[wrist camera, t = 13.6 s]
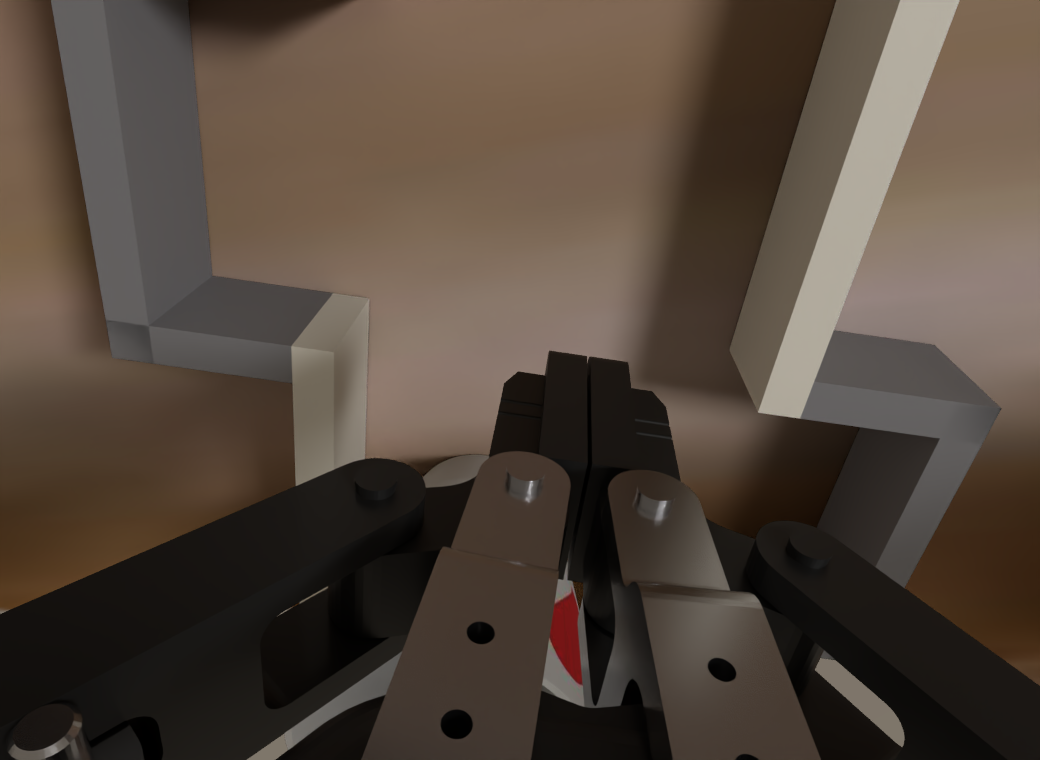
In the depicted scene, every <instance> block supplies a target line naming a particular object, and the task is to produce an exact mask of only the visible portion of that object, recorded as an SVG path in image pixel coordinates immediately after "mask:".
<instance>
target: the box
mask: <svg viewBox="0 0 1040 760" xmlns="http://www.w3.org/2000/svg"><path fill="white" fill-rule="evenodd" d="M958 3H959V0H836V3H835V6H834V9H833V13H832V16H831V19H830V22H829V26H828V29H827V32H826V35H825V39H824V42H823V45H822V48H821V52H820V55H819V58H818V61H817V65H816V68H815V71H814V75H813V78H812V81H811V84H810V88H809V91H808V94H807V97H806V101H805V104H804V107H803V110H802V114H801V117H800V120H799V124H798V127H797V130H796V133H795V137H794V140H793V143H792V146H791V150H790V153H789V156H788V159H787V163H786V166H785V169H784V173H783V176H782V179H781V182H780V186H779V189H778V192H777V195H776V199H775V202H774V205H773V208H772V212H771V215H770V218H769V221H768V225H767V228H766V231H765V235H764V238H763V241H762V244H761V248H760V251H759V254H758V257H757V261H756V264H755V267H754V270H753V274H752V277H751V280H750V284H749V287H748V290H747V293H746V297H745V300H744V303H743V306H742V310H741V313H740V316H739V319H738V323H737V326H736V329H735V333H734V336H733V339H732V342H731V346H730V349H729V351H730V353H731V355H732V357H733V359H734V362H735V364H736V366H737V368H738V370H739V372H740V375H741V377H742V379H743V381H744V383H745V385H746V388H747V390H748V392H749V394H750V396H751V399H752V401H753V403H754V405H755V407H756V409H757V412H758V413H764V414H771V415H778V416H785V417H792V418H799V419H806V420H813V421H820V422H827V423H834V424H841V425H848V426H855V427H860V428H859V431H858V433H857V435H856V438H855V440H854V442H853V445H852V447H851V449H850V452H849V454H848V456H847V458H846V461H845V463H844V465H843V468H842V470H841V472H840V475H839V477H838V479H837V482H836V484H835V486H834V488H833V491H832V493H831V495H830V498H829V500H828V502H827V505H826V507H825V509H824V512H823V514H822V516H821V518H820V521H819V523H818V525H817V528H818V529H820V530H822V531H824V532H826V533H828V534H830V535H831V536H833V537H834V538H836V539H837V540H839V541H840V542H841V543H843V544H844V545H845V546H847V547H848V548H850V549H851V550H852V551H854V552H855V553H856V554H858V555H859V556H861V557H862V558H863V559H865V560H866V561H868V562H869V563H870V564H872V565H873V566H874V567H876V568H877V569H879V570H880V571H881V572H883V573H884V574H886V575H887V576H888V577H890V578H891V579H892V580H894V581H895V582H897V583H898V584H899V585H901V586H902V587H903V588H905V586H906V584H907V582H908V580H909V578H910V577H911V575H912V573H913V571H914V569H915V567H916V565H917V564H918V562H919V560H920V558H921V556H922V554H923V553H924V551H925V549H926V547H927V545H928V543H929V541H930V540H931V538H932V536H933V534H934V532H935V530H936V529H937V527H938V525H939V523H940V521H941V519H942V517H943V516H944V514H945V512H946V510H947V508H948V506H949V504H950V503H951V501H952V499H953V497H954V495H955V493H956V492H957V490H958V488H959V486H960V484H961V482H962V480H963V479H964V477H965V475H966V473H967V471H968V469H969V468H970V466H971V464H972V462H973V460H974V458H975V456H976V455H977V453H978V451H979V449H980V447H981V445H982V444H983V442H984V440H985V438H986V436H987V434H988V432H989V431H990V429H991V427H992V425H993V423H994V421H995V419H996V418H997V416H998V414H999V412H1000V410H1001V407H999V406H998V405H997V404H996V403H995V402H994V401H993V400H992V399H991V398H990V397H989V396H988V395H987V394H986V393H985V392H984V391H983V390H982V389H980V388H979V387H978V386H977V385H976V384H975V383H974V382H973V381H972V380H971V379H970V378H969V377H968V376H967V375H966V374H965V373H964V372H962V371H961V370H960V369H959V368H958V367H957V366H956V365H955V364H954V363H953V362H952V361H951V360H950V359H949V358H948V357H947V356H946V355H945V354H943V353H942V352H941V351H940V350H939V349H938V348H937V347H936V346H935V345H931V344H924V343H917V342H910V341H903V340H896V339H890V338H883V337H876V336H869V335H862V334H855V333H848V332H841V331H834V328H835V326H836V323H837V320H838V318H839V315H840V313H841V310H842V307H843V305H844V302H845V299H846V297H847V294H848V292H849V289H850V286H851V284H852V281H853V278H854V276H855V273H856V271H857V268H858V265H859V263H860V260H861V258H862V255H863V252H864V250H865V247H866V244H867V242H868V239H869V237H870V234H871V231H872V229H873V226H874V223H875V221H876V218H877V216H878V213H879V210H880V208H881V205H882V202H883V200H884V197H885V195H886V192H887V189H888V187H889V184H890V181H891V179H892V176H893V174H894V171H895V168H896V166H897V163H898V160H899V158H900V155H901V153H902V150H903V147H904V145H905V142H906V139H907V137H908V134H909V132H910V129H911V126H912V124H913V121H914V119H915V116H916V113H917V111H918V108H919V105H920V103H921V100H922V98H923V95H924V92H925V90H926V87H927V84H928V82H929V79H930V77H931V74H932V71H933V69H934V66H935V63H936V61H937V58H938V56H939V53H940V50H941V48H942V45H943V42H944V40H945V37H946V35H947V32H948V29H949V27H950V24H951V21H952V19H953V16H954V14H955V11H956V8H957V6H958ZM51 4H52V10H53V16H54V22H55V28H56V33H57V39H58V45H59V51H60V57H61V62H62V68H63V74H64V80H65V86H66V92H67V97H68V103H69V109H70V115H71V121H72V127H73V132H74V138H75V144H76V150H77V156H78V162H79V167H80V173H81V179H82V185H83V191H84V196H85V202H86V208H87V214H88V220H89V226H90V231H91V237H92V243H93V249H94V255H95V261H96V266H97V272H98V278H99V284H100V290H101V296H102V301H103V307H104V313H105V319H106V325H107V330H108V336H109V342H110V348H111V354H112V358H117V359H124V360H131V361H138V362H145V363H152V364H159V365H166V366H173V367H181V368H188V369H195V370H202V371H209V372H216V373H223V374H230V375H237V376H244V377H251V378H258V379H265V380H272V381H279V382H286V383H292V384H293V416H294V447H295V478H296V486H297V485H299V484H302V483H304V482H306V481H309V480H311V479H313V478H316V477H318V476H320V475H323V474H325V473H327V472H329V471H332V470H334V469H336V468H339V467H341V466H343V465H346V464H348V463H351V462H354V461H358V460H362V459H365V441H366V404H367V368H368V331H369V298H363V297H356V296H349V295H342V294H335V293H328V292H321V291H314V290H307V289H300V288H293V287H286V286H279V285H272V284H265V283H258V282H251V281H244V280H237V279H230V278H223V277H216V276H212V267H211V256H210V244H209V233H208V222H207V210H206V199H205V188H204V176H203V165H202V154H201V142H200V131H199V120H198V108H197V97H196V86H195V74H194V63H193V52H192V40H191V29H190V18H189V6H188V0H51ZM327 588H328V586H327V587H326V588H324V589H322V590H320V591H318V592H317V593H315V594H313V595H311V596H310V597H308V598H306V599H304V600H302V601H301V602H300V603H302V602H304V601H306V600H307V599H309V598H311V597H313V596H314V595H316V594H318V593H320V592H321V591H323V590H325V589H327ZM821 658H824V659H831V660H835V659H834V658H833V657H832V656H830V655H829V654H828V653H827V652H826V651H825V650H824V651H823V654H822V656H821Z"/></svg>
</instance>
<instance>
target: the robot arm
mask: <svg viewBox="0 0 1040 760" xmlns="http://www.w3.org/2000/svg"><path fill="white" fill-rule="evenodd" d="M671 438H672V435H671V430H670V427H669V420H668V415H667V410H666V407H665V406H664V404H663V403H662V402H661V401H660V400H659V399H658V398H657V396H656V395H655V394H654V393H653V392H652V391H646V390H640V389H633V388H631V382H630V374H629V366H628V362H623V361H617V360H610V359H603V358H596V357H589V359H588V363H587V356H582V355H575V354H569V353H562V352H555V351H549V354H548V359H547V365H546V372H545V375H538V374H531V373H524V372H517V373H516V374H515V375H513V376H512V377H511V378H510V379H509V380H508V381H506V382H505V383H504V387H503V392H502V397H501V402H500V406H499V411H498V416H497V420H496V425H495V430H494V435H493V439H492V444H491V449H490V454H489V458H488V459H487V460H486V461H484V463H483V464H482V465H481V467H480V468H479V471H478V473H477V476H476V477H474V478H472V479H470V480H468V481H466V482H463V483H460V484H456V485H451V486H442V487H428V488H426V486H425V482H424V480H423V478H422V476H421V475H420V474H419V473H418V472H417V471H416V470H415V469H413V468H412V467H410V466H408V465H406V464H404V463H401V462H398V461H395V460H390V459H381V458H371V459H362V460H358V461H354V462H351V463H348V464H346V465H343V466H341V467H339V468H336V469H334V470H332V471H329V472H327V473H325V474H323V475H320V476H318V477H316V478H313V479H311V480H309V481H306V482H304V483H302V484H299V485H297V486H295V487H293V488H290V489H288V490H286V491H283V492H281V493H279V494H276V495H274V496H272V497H269V498H267V499H265V500H263V501H260V502H258V503H256V504H253V505H251V506H249V507H246V508H244V509H242V510H239V511H237V512H235V513H233V514H230V515H228V516H226V517H223V518H221V519H219V520H216V521H214V522H212V523H209V524H207V525H205V526H203V527H200V528H198V529H196V530H193V531H191V532H189V533H186V534H184V535H182V536H179V537H177V538H175V539H173V540H170V541H168V542H166V543H163V544H161V545H159V546H156V547H154V548H152V549H149V550H147V551H145V552H143V553H140V554H138V555H136V556H133V557H131V558H129V559H126V560H124V561H122V562H119V563H117V564H115V565H113V566H110V567H108V568H106V569H103V570H101V571H99V572H96V573H94V574H92V575H89V576H87V577H85V578H82V579H80V580H78V581H76V582H73V583H71V584H69V585H66V586H64V587H62V588H59V589H57V590H55V591H52V592H50V593H48V594H46V595H43V596H41V597H39V598H36V599H34V600H32V601H29V602H27V603H25V604H22V605H20V606H18V607H16V608H13V609H11V610H9V611H6V612H4V613H2V614H0V760H247V759H248V758H249V757H251V756H252V755H254V754H255V753H257V752H258V751H260V750H261V749H262V748H264V747H265V746H267V745H268V744H270V743H271V742H272V741H274V740H275V739H277V738H278V737H280V736H281V735H283V734H284V733H286V732H287V731H288V730H290V729H291V728H293V727H294V726H296V725H297V724H298V723H300V722H301V721H303V720H304V719H306V718H307V717H309V716H310V715H311V714H313V713H314V712H316V711H317V710H319V709H320V708H322V707H323V706H324V705H326V704H327V703H329V702H330V701H332V700H333V699H334V698H336V697H337V696H339V695H340V694H342V693H343V692H345V691H346V690H347V689H349V688H350V687H352V686H353V685H355V684H356V683H358V682H359V681H360V680H362V679H363V678H365V677H366V676H368V675H369V674H370V673H372V672H373V671H375V670H376V669H378V668H379V667H381V666H382V665H383V664H385V663H386V662H388V661H389V660H391V659H392V658H393V657H395V656H396V655H398V654H399V653H400V652H402V653H401V656H400V658H399V661H398V664H397V666H396V669H395V671H394V674H393V677H392V679H391V682H390V685H389V687H388V690H387V693H386V695H383V696H380V697H377V698H374V699H371V700H368V701H365V702H362V703H360V704H358V705H356V706H354V707H351V708H349V709H347V710H345V711H343V712H342V713H340V714H338V715H336V716H335V717H333V718H331V719H330V720H328V721H327V722H325V723H324V724H322V725H321V726H320V727H318V728H317V729H315V730H314V731H313V732H311V733H310V734H309V735H307V736H306V737H305V738H304V739H302V740H301V741H300V742H298V743H297V744H296V745H294V746H293V747H292V748H290V749H289V750H288V751H287V752H285V753H284V754H283V755H281V756H280V757H279V758H277V759H276V760H1040V686H1039V685H1038V684H1036V683H1035V682H1033V681H1032V680H1031V679H1029V678H1028V677H1027V676H1025V675H1024V674H1022V673H1021V672H1020V671H1018V670H1017V669H1016V668H1014V667H1013V666H1011V665H1010V664H1009V663H1007V662H1006V661H1004V660H1003V659H1002V658H1000V657H999V656H998V655H996V654H995V653H993V652H992V651H991V650H989V649H988V648H986V647H985V646H984V645H982V644H981V643H980V642H978V641H977V640H975V639H974V638H973V637H971V636H970V635H968V634H967V633H966V632H964V631H963V630H962V629H960V628H959V627H957V626H956V625H955V624H953V623H952V622H951V621H949V620H948V619H946V618H945V617H944V616H942V615H941V614H939V613H938V612H937V611H935V610H934V609H933V608H931V607H930V606H928V605H927V604H926V603H924V602H923V601H921V600H920V599H919V598H917V597H916V596H915V595H913V594H912V593H910V592H909V591H908V590H906V589H905V588H903V587H902V586H901V585H899V584H898V583H897V582H895V581H894V580H892V579H891V578H890V577H888V576H887V575H886V574H884V573H883V572H881V571H880V570H879V569H877V568H876V567H874V566H873V565H872V564H870V563H869V562H868V561H866V560H865V559H863V558H862V557H861V556H859V555H858V554H856V553H855V552H854V551H852V550H851V549H850V548H848V547H847V546H845V545H844V544H843V543H841V542H840V541H839V540H837V539H836V538H834V537H833V536H831V535H830V534H828V533H826V532H824V531H822V530H820V529H818V528H815V527H813V526H810V525H807V524H804V523H799V522H794V521H775V522H771V523H768V524H766V525H764V526H763V527H762V528H761V529H760V530H759V532H758V534H757V536H756V539H753V538H751V537H748V536H745V535H742V534H740V533H737V532H734V531H732V530H729V529H726V528H724V527H722V526H719V525H717V524H715V523H713V522H711V521H710V520H708V519H707V518H705V516H704V513H703V510H702V507H701V504H700V501H699V499H698V497H697V496H696V495H695V493H694V492H693V491H692V490H691V489H690V488H689V487H688V486H686V485H685V484H684V483H682V482H681V480H680V475H679V470H678V465H677V460H676V455H675V450H674V445H673V440H671ZM567 560H568V575H567V580H569V581H575V582H582V583H583V599H582V603H581V607H580V612H579V616H578V635H579V647H580V660H581V672H582V684H583V696H584V707H583V706H580V705H577V704H575V703H572V702H569V701H567V700H564V699H562V698H559V697H557V696H554V695H552V694H549V693H547V692H544V691H541V690H542V683H543V677H544V670H545V663H546V657H547V650H548V643H549V637H550V630H551V624H552V617H553V610H554V604H555V597H556V590H557V584H558V579H560V580H563V579H564V574H565V569H566V564H567ZM327 586H328V588H327V589H325V590H323V591H321V592H320V593H318V594H316V595H314V596H313V597H311V598H309V599H307V600H306V601H304V602H302V603H300V604H298V605H297V606H295V607H293V608H291V609H290V610H288V611H286V612H284V613H283V614H281V615H279V614H280V613H282V612H283V611H285V610H286V609H288V608H290V607H292V606H294V605H295V604H297V603H299V602H301V601H302V600H304V599H306V598H308V597H310V596H311V595H313V594H315V593H317V592H318V591H320V590H322V589H324V588H326V587H327ZM278 615H279V616H278ZM824 650H825V651H826V652H827V653H828V654H829V655H830V656H832V657H833V658H834V659H835V660H836V661H837V662H839V663H840V664H841V665H842V666H843V667H844V668H845V669H847V670H848V671H849V672H850V673H851V674H852V675H854V676H855V677H856V678H857V679H858V680H859V681H860V682H862V683H863V684H864V685H865V686H866V687H867V688H869V689H870V690H871V691H872V692H873V693H875V694H876V695H877V696H878V697H879V698H880V699H881V700H882V701H884V702H885V703H886V704H887V705H888V706H889V707H890V708H891V709H892V710H893V711H894V713H895V714H896V716H897V717H898V718H899V720H900V722H901V725H902V727H903V730H904V735H905V741H904V746H903V747H901V746H899V745H898V744H897V743H895V742H894V741H893V740H892V739H891V738H890V737H888V736H887V735H886V734H885V733H884V732H883V731H882V730H881V729H880V728H879V727H877V726H876V725H875V724H874V723H873V722H872V721H871V720H870V719H869V718H867V717H866V716H865V715H864V714H863V713H862V712H861V711H860V710H859V709H857V708H856V707H855V706H854V705H853V704H852V703H851V702H850V701H848V700H847V699H846V698H845V697H844V696H843V695H842V694H841V693H840V692H838V691H837V690H836V689H835V688H834V687H833V686H832V685H831V684H829V683H828V682H827V681H826V680H825V679H824V678H823V677H822V676H821V675H820V674H818V673H817V672H816V671H815V668H816V666H817V664H818V662H819V660H820V658H821V656H822V654H823V651H824Z"/></svg>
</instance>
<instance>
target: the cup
mask: <svg viewBox="0 0 1040 760" xmlns="http://www.w3.org/2000/svg"><path fill="white" fill-rule="evenodd" d="M488 458H489V456H487V455H464V456H458V457H454V458H451V459H448V460H446V461H443V462H441V463H440V464H438V465H436V466H435V467H433V468H432V469H431V470H430V471H429V472H428V473H427V474H426V475H425V476H424V477H423V480H424V482H425V486H426V488H428V487H442V486H451V485H456V484H460V483H463V482H466V481H468V480H470V479H472V478H474V477H476V476H477V473H478V471H479V468H480V467H481V465H482V464H483V463H484V461H486V460H487V459H488ZM567 575H568V561H567V564H566V569H565V574H564V579H563V580H560V579H558V584H557V590H556V597H555V604H554V610H553V617H552V624H551V630H550V637H549V643H548V650H547V657H546V663H545V670H544V677H543V683H542V690H541V691H544V692H547V693H549V694H552V695H554V696H557V697H559V698H562V699H564V700H567V701H569V702H572V703H575V704H577V705H580V706H583V707H584V696H583V684H582V672H581V660H580V647H579V635H578V616H579V612H580V611H579V607H578V603H577V599H576V594H575V590H574V586H573V582H572V581H569V580H567ZM401 653H402V652H400V653H399V654H398V655H396V656H395V657H393V658H392V659H391V660H389V661H388V662H386V663H385V664H383V665H382V666H381V667H379V668H378V669H376V670H375V671H373V672H372V673H370V674H369V675H368V676H366V677H365V678H363V679H362V680H360V681H359V682H358V683H356V684H355V685H353V686H352V687H350V688H349V689H347V690H346V691H345V692H343V693H342V694H340V695H339V696H337V697H336V698H334V699H333V700H332V701H330V702H329V703H327V704H326V705H324V706H323V707H322V708H320V709H319V710H317V711H316V712H314V713H313V714H311V715H310V716H309V717H307V718H306V719H304V720H303V721H301V722H300V723H298V724H297V725H296V726H294V727H293V728H291V729H290V730H288V731H287V732H286V733H284V736H285V741H286V746H287V749H288V750H289V749H290V748H292V747H293V746H294V745H296V744H297V743H298V742H300V741H301V740H302V739H304V738H305V737H306V736H307V735H309V734H310V733H311V732H313V731H314V730H315V729H317V728H318V727H320V726H321V725H322V724H324V723H325V722H327V721H328V720H330V719H331V718H333V717H335V716H336V715H338V714H340V713H342V712H343V711H345V710H347V709H349V708H351V707H354V706H356V705H358V704H360V703H362V702H365V701H368V700H371V699H374V698H377V697H380V696H383V695H386V693H387V690H388V687H389V685H390V682H391V679H392V677H393V674H394V671H395V669H396V666H397V664H398V661H399V658H400V656H401Z"/></svg>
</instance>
